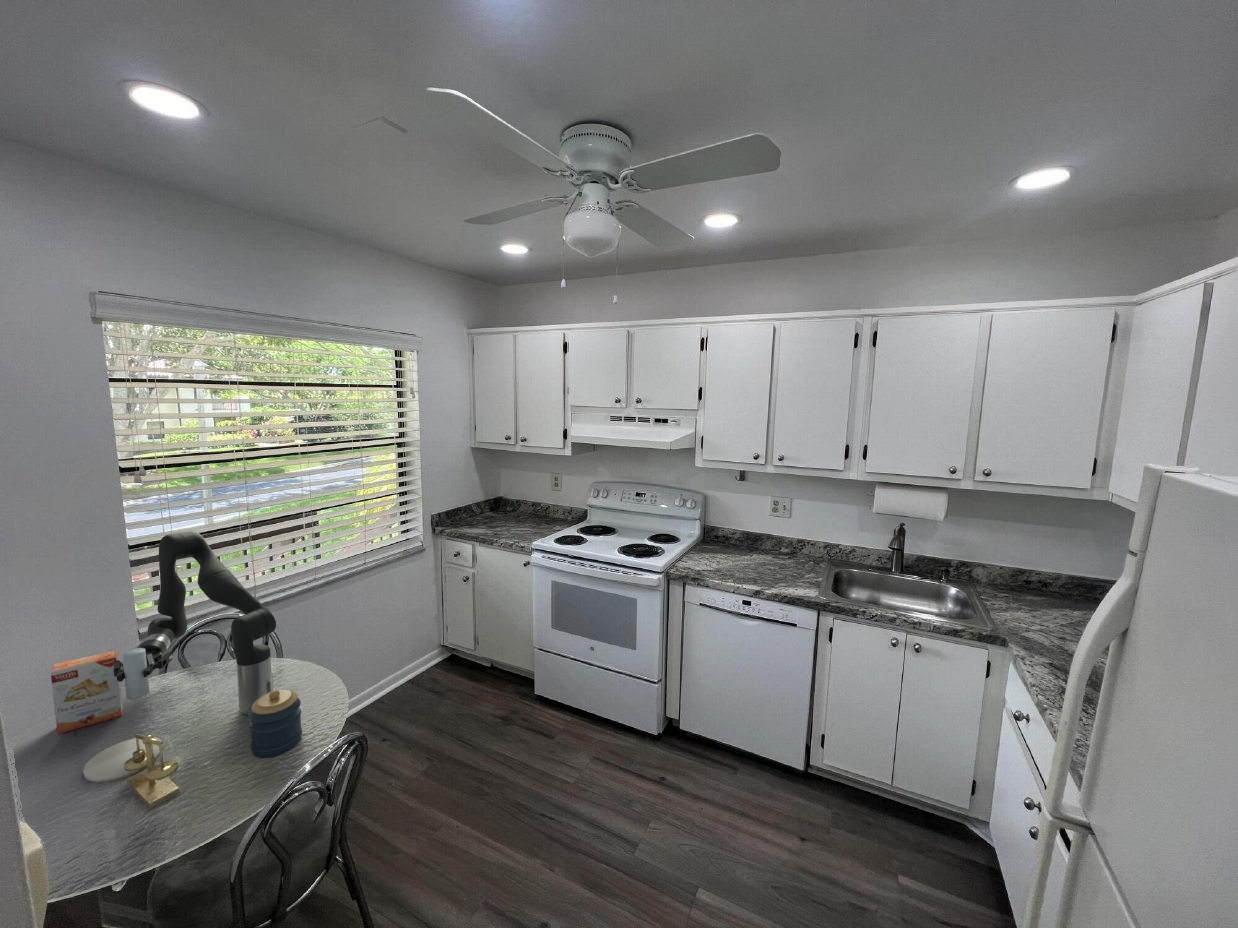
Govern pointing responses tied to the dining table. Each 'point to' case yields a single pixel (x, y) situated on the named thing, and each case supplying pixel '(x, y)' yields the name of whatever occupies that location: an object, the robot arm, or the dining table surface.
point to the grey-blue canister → (135, 673)
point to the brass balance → (151, 773)
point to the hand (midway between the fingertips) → (132, 676)
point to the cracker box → (86, 691)
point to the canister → (275, 723)
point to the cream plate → (114, 761)
